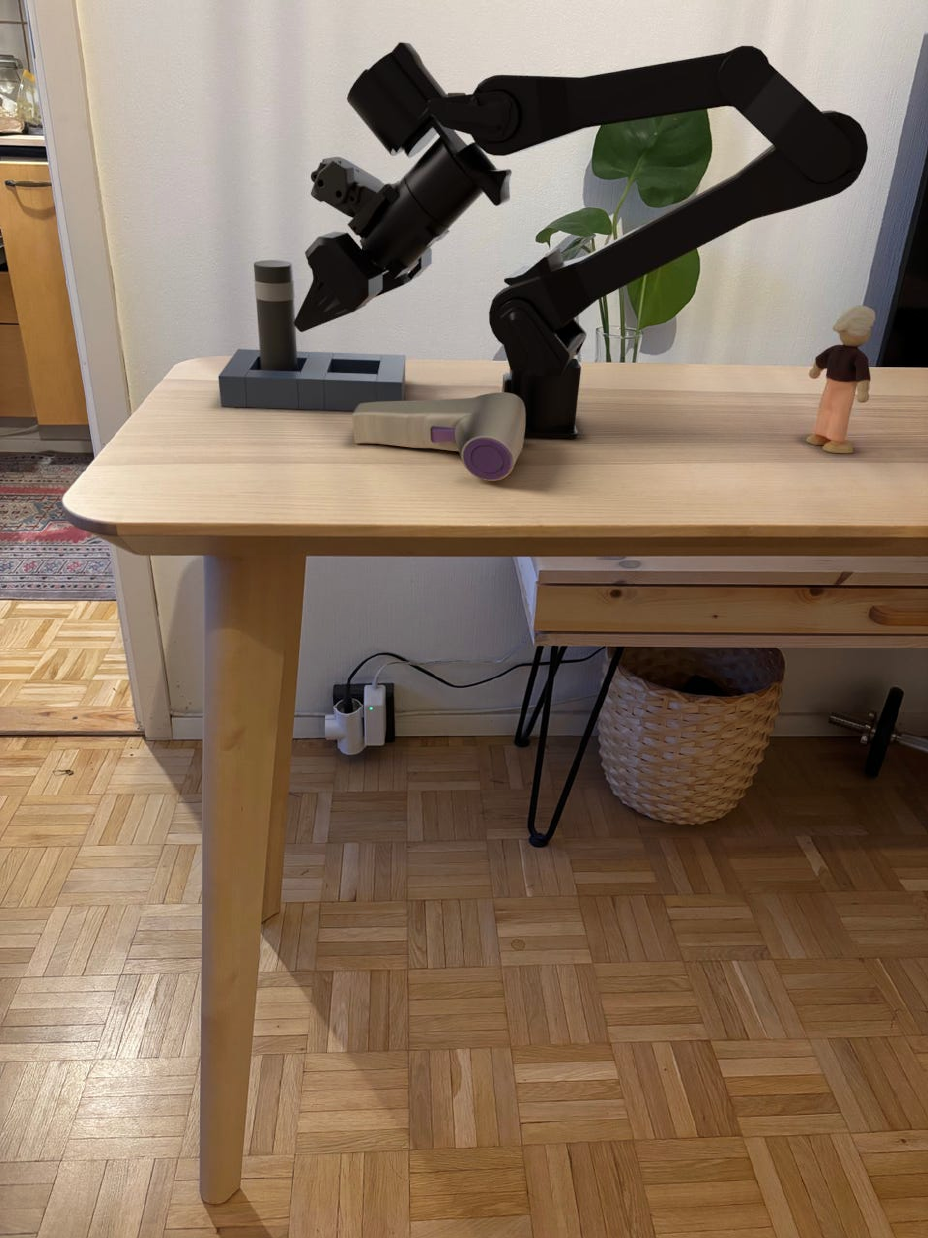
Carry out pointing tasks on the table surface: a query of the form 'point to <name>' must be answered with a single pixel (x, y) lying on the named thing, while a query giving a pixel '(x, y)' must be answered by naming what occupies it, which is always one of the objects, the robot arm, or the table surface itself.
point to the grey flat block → (313, 381)
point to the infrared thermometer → (451, 429)
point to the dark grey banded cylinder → (276, 315)
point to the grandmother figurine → (842, 379)
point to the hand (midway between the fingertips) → (317, 317)
